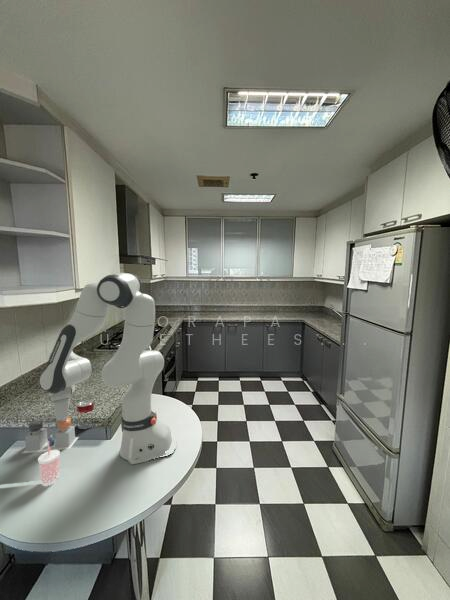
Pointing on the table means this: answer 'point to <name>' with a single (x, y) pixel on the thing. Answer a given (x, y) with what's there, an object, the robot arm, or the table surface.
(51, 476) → the beverage cup
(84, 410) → the soda can
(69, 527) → the table surface
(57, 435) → the mount
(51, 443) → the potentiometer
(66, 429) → the knob orange
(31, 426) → the knob black
